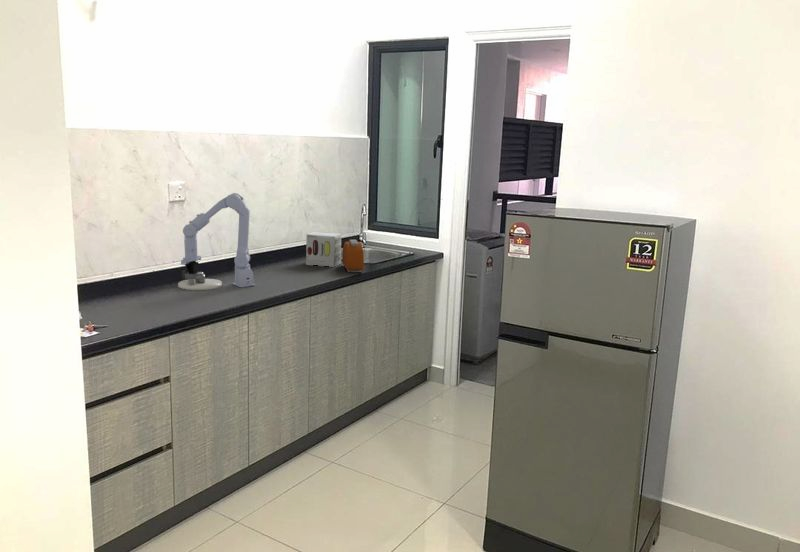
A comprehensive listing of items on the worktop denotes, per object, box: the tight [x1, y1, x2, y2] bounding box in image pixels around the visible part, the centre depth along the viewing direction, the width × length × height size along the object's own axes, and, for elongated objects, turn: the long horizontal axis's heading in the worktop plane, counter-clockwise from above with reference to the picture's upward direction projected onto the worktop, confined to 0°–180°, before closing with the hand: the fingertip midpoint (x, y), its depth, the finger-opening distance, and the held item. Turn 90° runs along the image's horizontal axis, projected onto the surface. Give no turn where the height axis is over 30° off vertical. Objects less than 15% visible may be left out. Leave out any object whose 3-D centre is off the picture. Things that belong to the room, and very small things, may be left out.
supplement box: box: [305, 231, 342, 268], centre depth 372 cm, size 17×13×18 cm
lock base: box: [177, 278, 223, 291], centre depth 308 cm, size 20×20×4 cm
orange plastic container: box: [341, 239, 365, 273], centre depth 361 cm, size 23×9×17 cm, turn 12°
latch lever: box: [181, 269, 206, 283], centre depth 309 cm, size 12×4×5 cm, turn 72°
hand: (191, 277), depth 312 cm, fingers closed
